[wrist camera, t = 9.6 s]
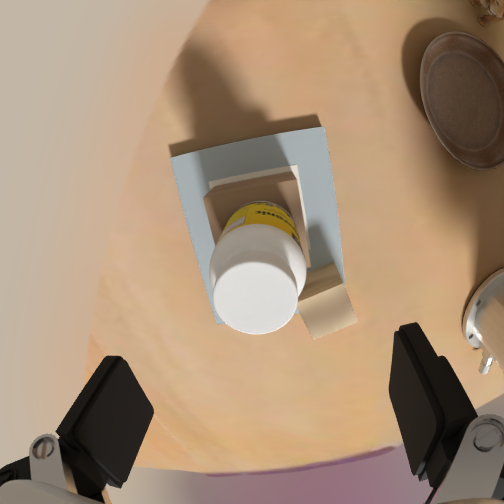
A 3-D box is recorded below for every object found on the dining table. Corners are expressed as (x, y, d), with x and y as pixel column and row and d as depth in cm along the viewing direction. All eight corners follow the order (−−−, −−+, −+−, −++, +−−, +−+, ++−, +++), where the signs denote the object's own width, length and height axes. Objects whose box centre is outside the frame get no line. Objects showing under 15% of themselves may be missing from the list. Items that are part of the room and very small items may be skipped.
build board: (343, 299, 32) (346, 305, 30) (218, 318, 34) (216, 324, 32) (321, 126, 25) (324, 126, 24) (174, 156, 27) (169, 157, 26)
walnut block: (304, 244, 28) (310, 267, 24) (231, 257, 29) (224, 281, 25) (292, 171, 26) (296, 179, 21) (214, 186, 27) (202, 197, 22)
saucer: (459, 18, 19) (472, 12, 16) (523, 124, 22) (537, 126, 20) (380, 76, 23) (390, 71, 21) (457, 192, 27) (471, 198, 24)
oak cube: (348, 297, 30) (358, 321, 26) (308, 313, 31) (313, 340, 27) (333, 261, 29) (343, 283, 25) (291, 279, 30) (294, 303, 26)
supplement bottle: (312, 235, 23) (336, 304, 14) (260, 279, 24) (253, 363, 15) (262, 183, 21) (256, 221, 12) (210, 232, 23) (174, 297, 14)
